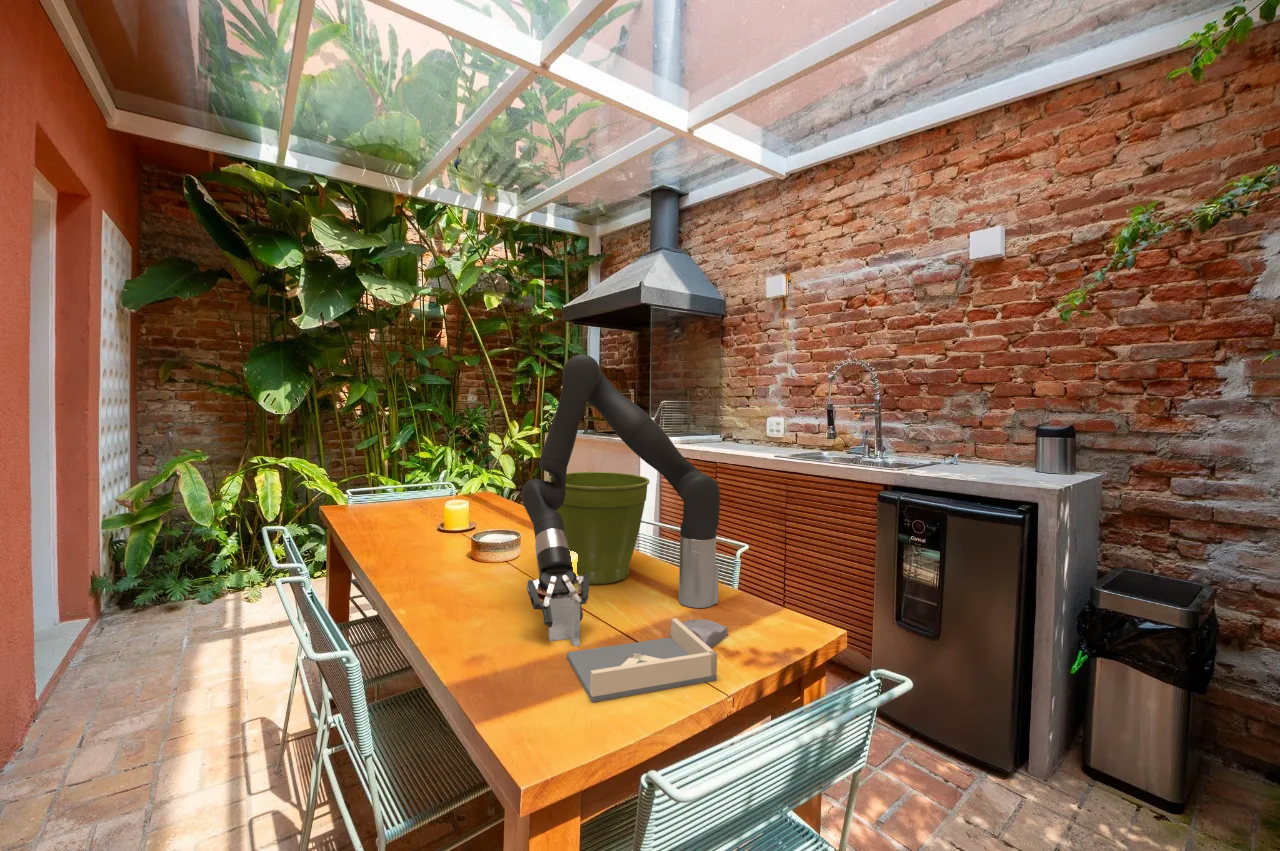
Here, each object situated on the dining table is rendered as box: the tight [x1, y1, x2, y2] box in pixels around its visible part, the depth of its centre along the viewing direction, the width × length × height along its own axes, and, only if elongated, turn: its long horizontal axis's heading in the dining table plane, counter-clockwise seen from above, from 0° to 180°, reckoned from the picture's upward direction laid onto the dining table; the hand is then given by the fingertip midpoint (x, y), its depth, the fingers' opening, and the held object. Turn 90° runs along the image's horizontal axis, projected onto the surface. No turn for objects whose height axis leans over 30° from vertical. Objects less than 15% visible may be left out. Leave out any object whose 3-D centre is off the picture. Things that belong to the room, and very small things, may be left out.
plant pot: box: [546, 471, 651, 585], centre depth 166 cm, size 30×30×29 cm
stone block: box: [669, 618, 729, 649], centre depth 124 cm, size 12×5×10 cm
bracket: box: [547, 595, 581, 648], centre depth 120 cm, size 6×6×9 cm
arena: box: [566, 618, 718, 703], centre depth 110 cm, size 24×18×5 cm
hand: (564, 623), depth 120 cm, fingers closed on bracket, 5 cm apart
